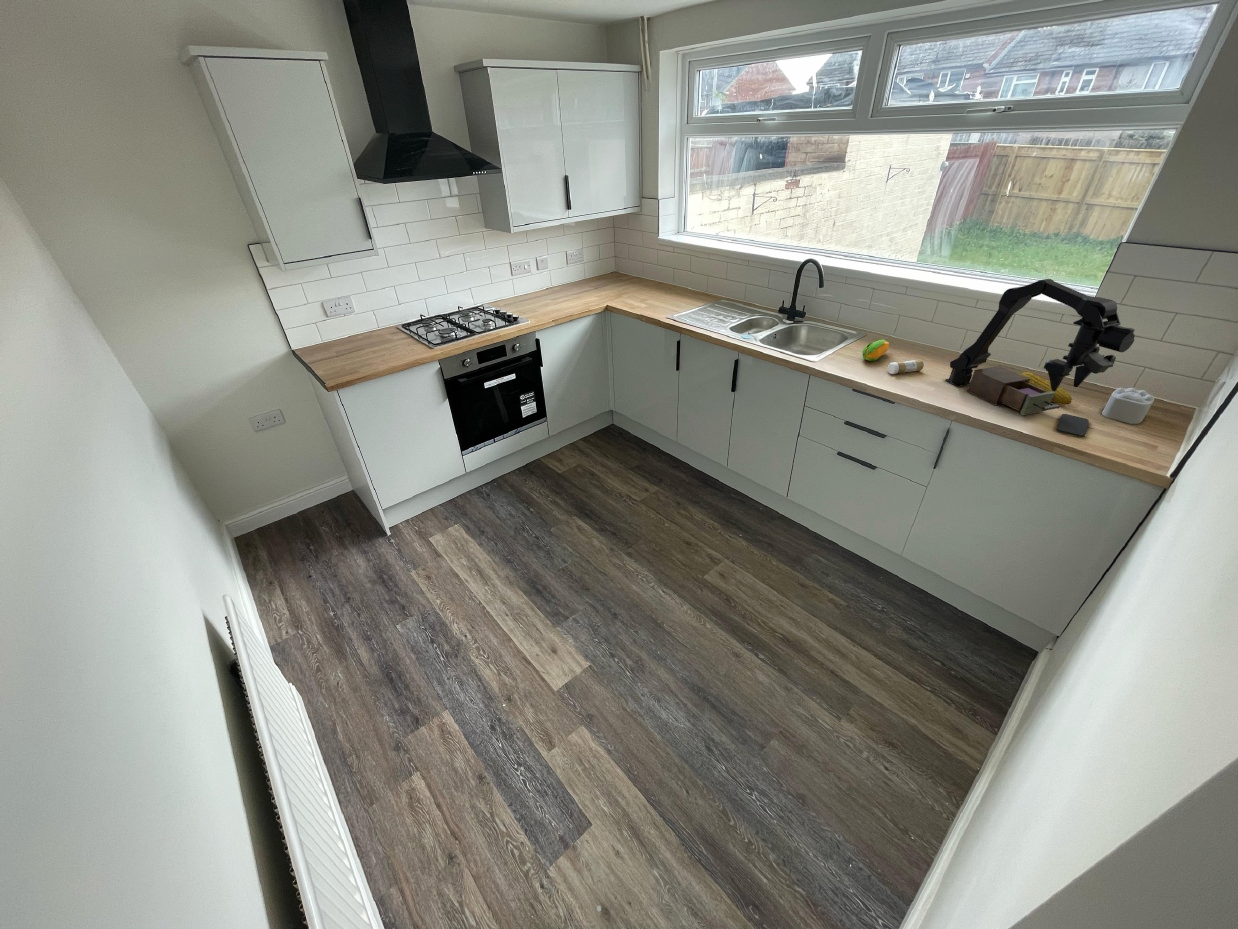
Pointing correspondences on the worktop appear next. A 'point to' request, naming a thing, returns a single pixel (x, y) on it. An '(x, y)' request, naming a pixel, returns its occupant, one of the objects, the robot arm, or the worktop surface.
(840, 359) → the worktop surface
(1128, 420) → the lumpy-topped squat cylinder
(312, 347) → the worktop surface
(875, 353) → the corn
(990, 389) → the cabinet
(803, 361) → the worktop surface
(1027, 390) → the block
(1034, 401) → the drawer
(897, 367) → the sprinkles bottle
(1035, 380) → the food
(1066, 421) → the phone
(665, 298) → the worktop surface
